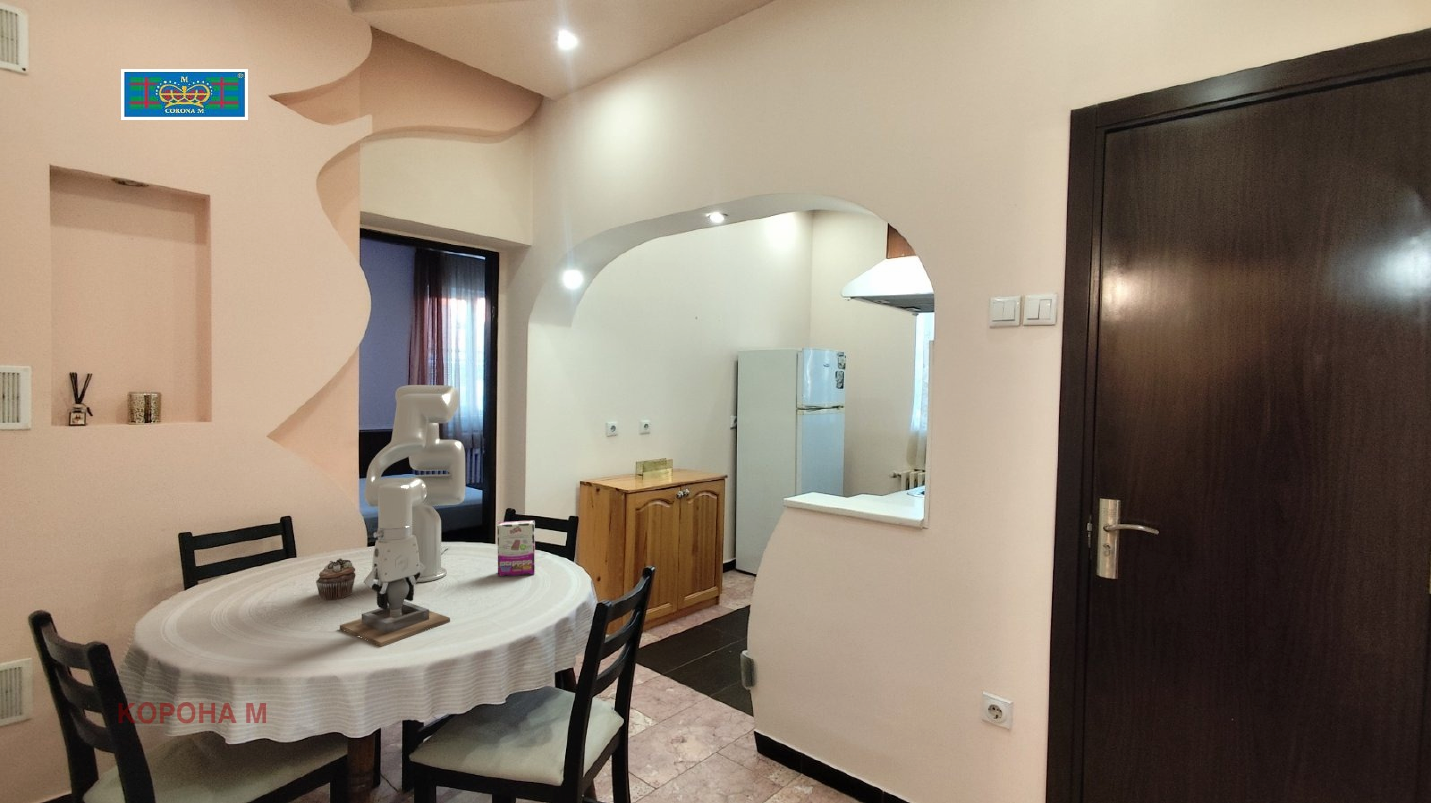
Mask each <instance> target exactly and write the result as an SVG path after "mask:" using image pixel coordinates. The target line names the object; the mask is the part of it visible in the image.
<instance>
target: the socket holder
mask: <svg viewBox="0 0 1431 803" xmlns="http://www.w3.org/2000/svg"><path fill="white" fill-rule="evenodd" d="M401 613H402V615H401V616H399V617H398V618H392V617H390V608H389V606H388V608H387V609H382V608H379V607H378V608H376V609H373V610H369V611H366V612H362V613H361V618H358V619H355V620H352V621H348V622H346V623H342V624H339V630H340V629H342V630H341V631H343V630H345V631H347V632H349V633H348V634H350V633H351V634H350V635H352V634H353V635H352V636H355V637H357V636H360V637H362V638H363V639H362V638H361V639H362V640H364V639H366V640H368V641H367V642H369V641H370V642H369V643H371V642H372V644H374V645H376V644H377V645H376V646H378V645H379V647H381V648H382V647H385V646H387V644H388V645H390V644H393V643H395V642H398V641H401V640H403V639H406V638H409V637H412V636H415V635H417V634H420V633H422V632H426V631H428V629H429V630H431V629H434V628H437V627H440V626H442V625H444V624H447V623H450V622H451V618H450V617H448V616H446V615H443V614H439V613H437V612H435V611H431V610H430V609H429V608H426V607H423V606H421V605H417V604H414V603H413V602H412V603H411V602H410V601H407V600H406V601H405V600H404V602H403V606H402V611H401ZM433 627H434V628H433ZM430 628H431V629H430ZM425 630H426V631H425ZM345 631H344V632H345ZM347 632H346V633H347ZM366 640H365V641H366ZM384 645H385V646H384Z"/></svg>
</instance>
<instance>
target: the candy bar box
mask: <svg viewBox="0 0 1431 803" xmlns="http://www.w3.org/2000/svg"><path fill="white" fill-rule="evenodd" d="M535 525H536V522H535V520H518V521H514V520H513V521H500V522H498V524H497V576H498V577H499V576H501V577H513V576H515V577H516V576H517V577H518V576H525V575H526V576H530V574H532V575H535V570H536V539H535V538H536V535H535V534H536V533H535V531H536V530H535Z"/></svg>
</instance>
